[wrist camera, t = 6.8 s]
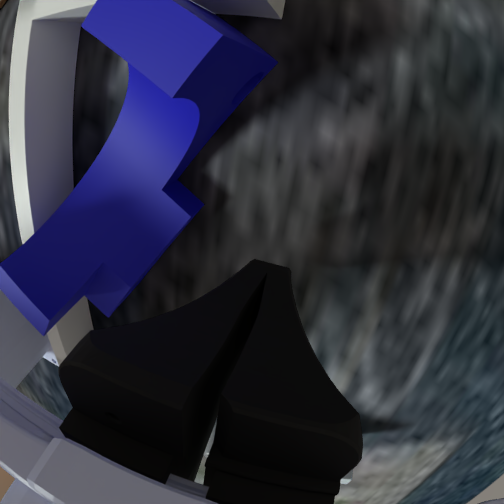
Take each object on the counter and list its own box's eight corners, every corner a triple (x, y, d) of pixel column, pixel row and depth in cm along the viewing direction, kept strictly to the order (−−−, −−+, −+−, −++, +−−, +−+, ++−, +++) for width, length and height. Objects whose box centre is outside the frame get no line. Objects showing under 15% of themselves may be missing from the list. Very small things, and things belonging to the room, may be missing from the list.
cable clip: (139, 282, 16) (70, 362, 11) (79, 224, 15) (-4, 284, 10) (311, 90, 10) (288, 88, 5) (216, 15, 9) (118, -31, 4)
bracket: (84, 339, 20) (59, 368, 17) (67, 3, 9) (20, -1, 7) (219, 393, 18) (202, 432, 16) (287, -10, 8) (270, -41, 6)
